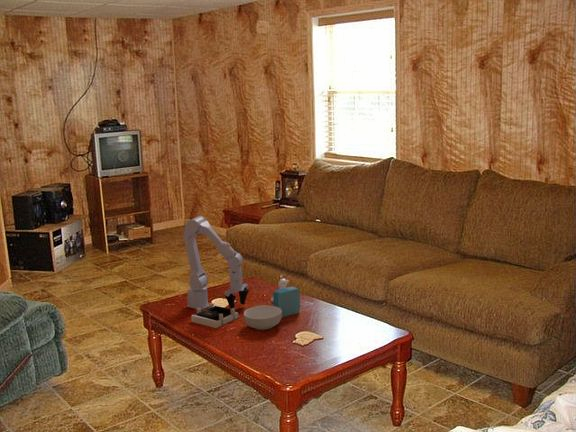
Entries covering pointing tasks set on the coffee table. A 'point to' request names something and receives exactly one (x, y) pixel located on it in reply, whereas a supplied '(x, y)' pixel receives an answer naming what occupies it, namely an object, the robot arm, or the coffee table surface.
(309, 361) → the coffee table surface
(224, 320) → the dock
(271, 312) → the cereal bowl
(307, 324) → the coffee table surface
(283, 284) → the white creature statuette
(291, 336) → the coffee table surface
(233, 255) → the robot arm
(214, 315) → the battery charger
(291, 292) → the teal box
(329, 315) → the coffee table surface
